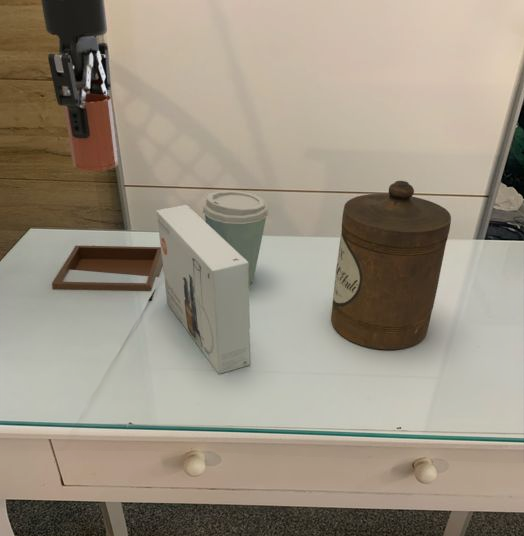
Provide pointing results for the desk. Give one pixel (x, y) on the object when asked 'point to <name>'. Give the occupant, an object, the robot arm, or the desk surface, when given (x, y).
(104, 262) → the tray
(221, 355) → the skincare box
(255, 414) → the desk surface
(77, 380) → the desk surface
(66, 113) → the cup
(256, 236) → the disposable coffee cup
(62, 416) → the desk surface
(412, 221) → the wooden container
